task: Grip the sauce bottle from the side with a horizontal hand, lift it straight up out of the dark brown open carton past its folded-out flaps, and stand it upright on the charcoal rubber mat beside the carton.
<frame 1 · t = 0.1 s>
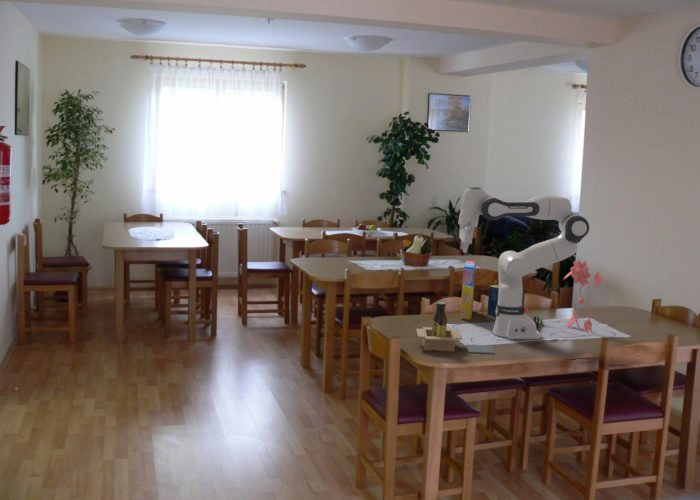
hand: (463, 250, 347), 39 cm above the table, tool pointing down, fingers open, 8 cm apart
game box: (466, 315, 387), on the table
protein box: (504, 316, 388), on the table
pink blossom sprig: (574, 330, 364), on the table
sauce bottle: (438, 347, 327), resting in carton
carton: (438, 346, 327), on the table
mat: (479, 349, 324), on the table
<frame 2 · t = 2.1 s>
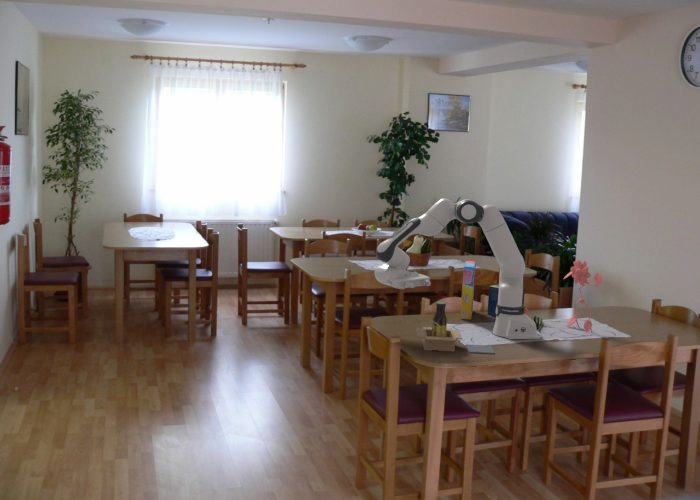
hand: (422, 285, 332), 25 cm above the table, tool horizontal, fingers open, 8 cm apart
nothing on the table moved.
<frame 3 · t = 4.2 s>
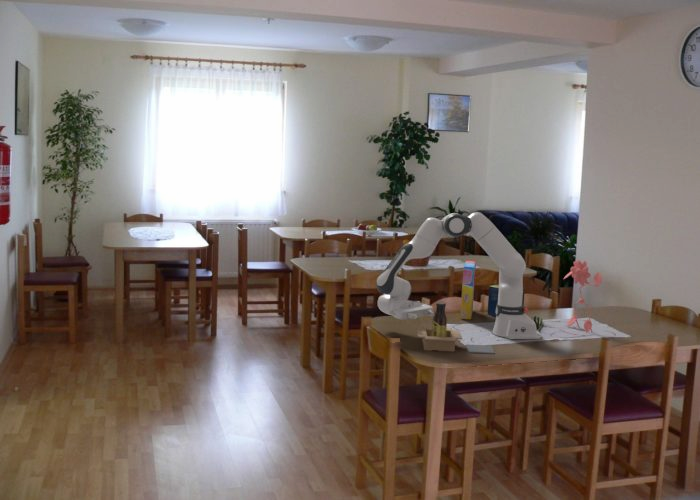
hand: (425, 315, 332), 12 cm above the table, tool horizontal, fingers open, 8 cm apart
nothing on the table moved.
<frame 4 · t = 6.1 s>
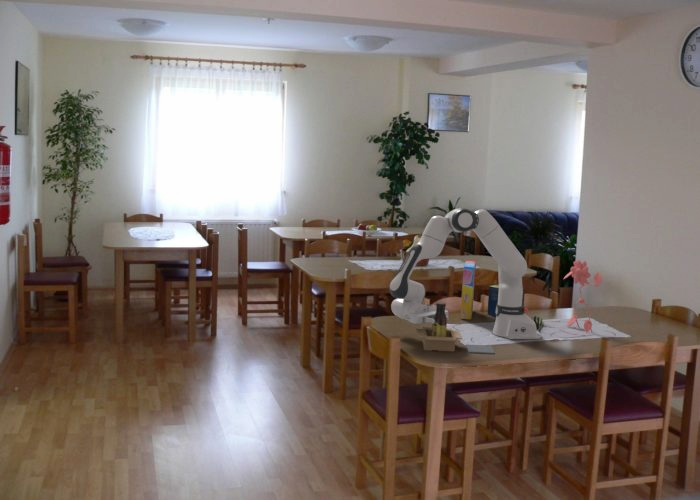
hand: (441, 320, 324), 12 cm above the table, tool horizontal, fingers closed on sauce bottle, 6 cm apart
sauce bottle: (438, 347, 327), resting in carton, touching gripper
everything else where it was.
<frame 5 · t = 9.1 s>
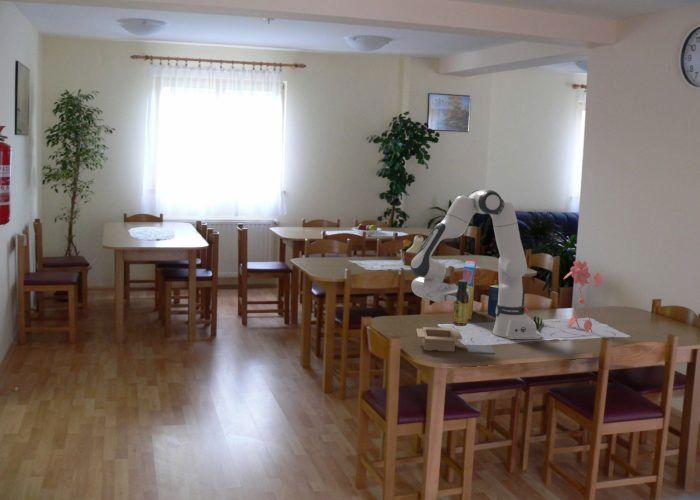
hand: (462, 298, 321), 22 cm above the table, tool horizontal, fingers closed on sauce bottle, 6 cm apart
sauce bottle: (460, 325, 324), point 10 cm above the table, touching gripper
everything else where it was.
when the fingers open (14 cm above the table, at t = 12.1 s): sauce bottle drops 1 cm, resting on mat.
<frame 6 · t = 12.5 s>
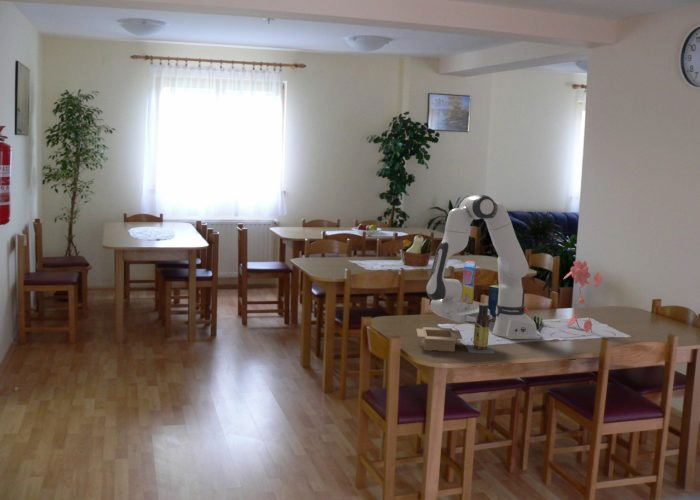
hand: (483, 318, 321), 14 cm above the table, tool horizontal, fingers open, 8 cm apart
sauce bottle: (480, 348, 324), resting on mat
everything else where it was.
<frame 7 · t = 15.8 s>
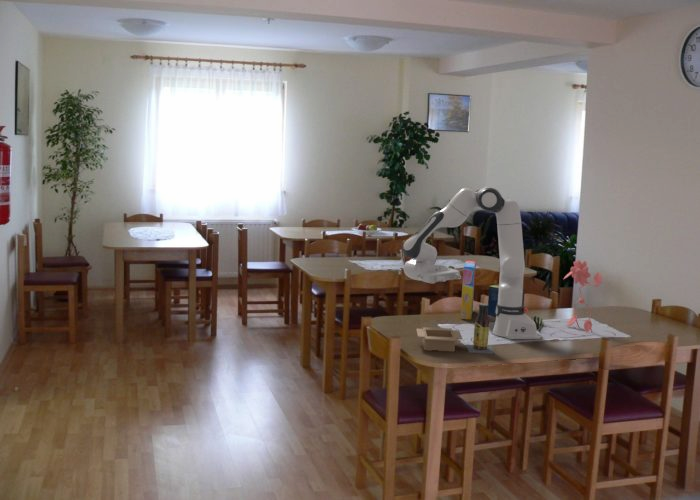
hand: (452, 278, 335), 28 cm above the table, tool horizontal, fingers open, 8 cm apart
nothing on the table moved.
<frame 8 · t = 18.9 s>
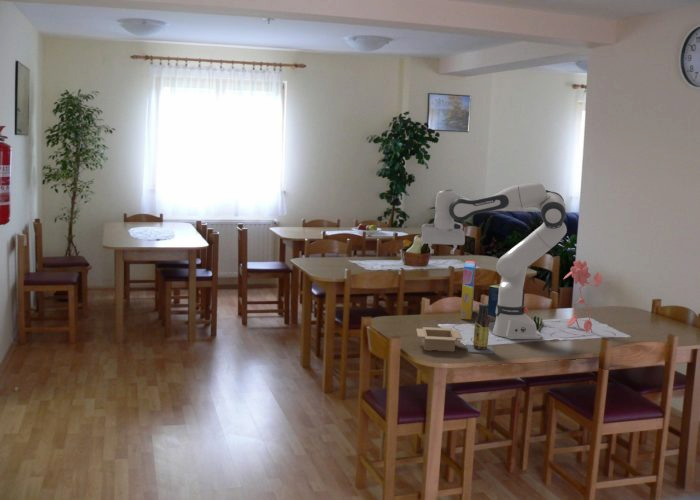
hand: (442, 253, 348), 37 cm above the table, tool pointing down, fingers open, 8 cm apart
nothing on the table moved.
at the end: sauce bottle inside the target area on the mat (0.2 cm from its centre), point 0.4 cm above the mat's base; sauce bottle tilted 0°; sauce bottle touching mat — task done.
